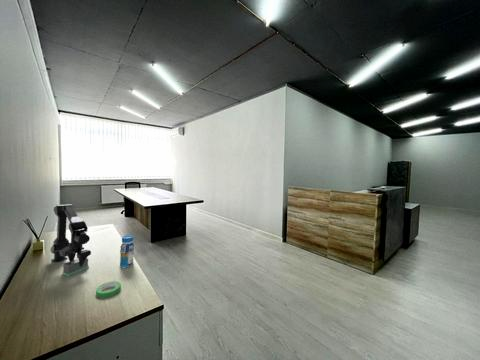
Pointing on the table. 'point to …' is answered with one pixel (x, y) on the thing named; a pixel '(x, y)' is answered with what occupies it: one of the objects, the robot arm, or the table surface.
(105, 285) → the tape roll
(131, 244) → the beverage bottle
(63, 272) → the green peg board
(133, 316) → the table surface
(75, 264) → the block
